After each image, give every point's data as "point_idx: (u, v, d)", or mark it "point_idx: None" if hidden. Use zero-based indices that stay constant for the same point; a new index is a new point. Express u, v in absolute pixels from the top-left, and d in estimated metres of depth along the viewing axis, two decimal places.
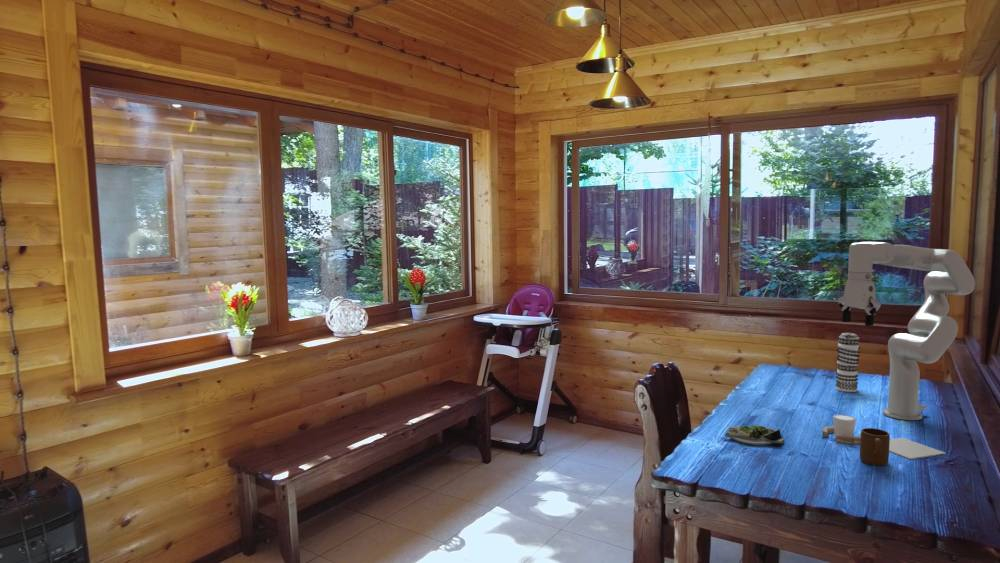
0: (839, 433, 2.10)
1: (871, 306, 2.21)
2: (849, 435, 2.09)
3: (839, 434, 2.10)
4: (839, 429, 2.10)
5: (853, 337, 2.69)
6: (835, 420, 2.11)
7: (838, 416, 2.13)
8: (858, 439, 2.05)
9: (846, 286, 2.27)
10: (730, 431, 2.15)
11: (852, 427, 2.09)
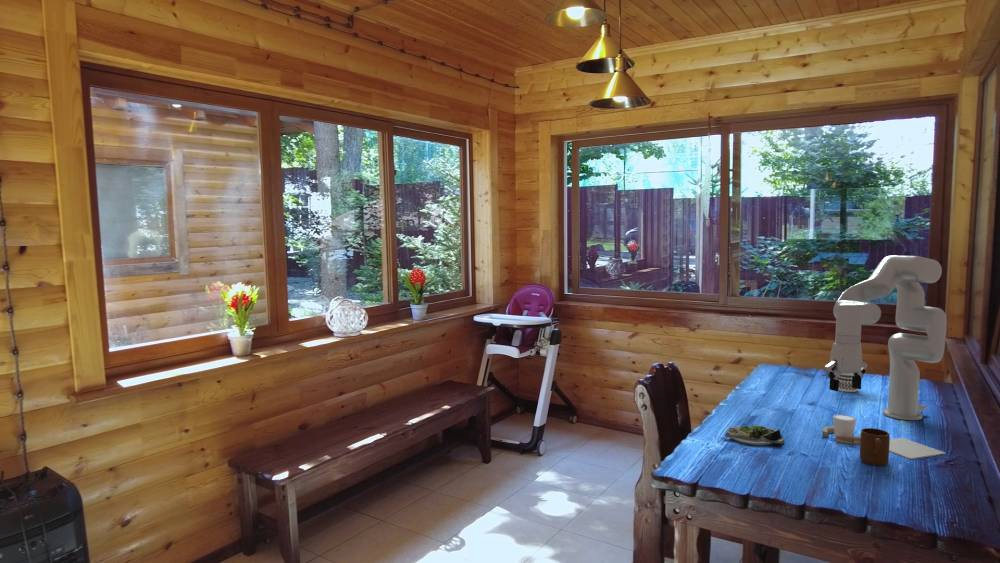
0: (839, 433, 2.10)
1: None
2: (849, 435, 2.09)
3: (839, 434, 2.10)
4: (839, 429, 2.10)
5: None
6: (835, 420, 2.11)
7: (838, 416, 2.13)
8: (858, 439, 2.05)
9: (844, 352, 2.06)
10: (730, 431, 2.15)
11: (852, 427, 2.09)
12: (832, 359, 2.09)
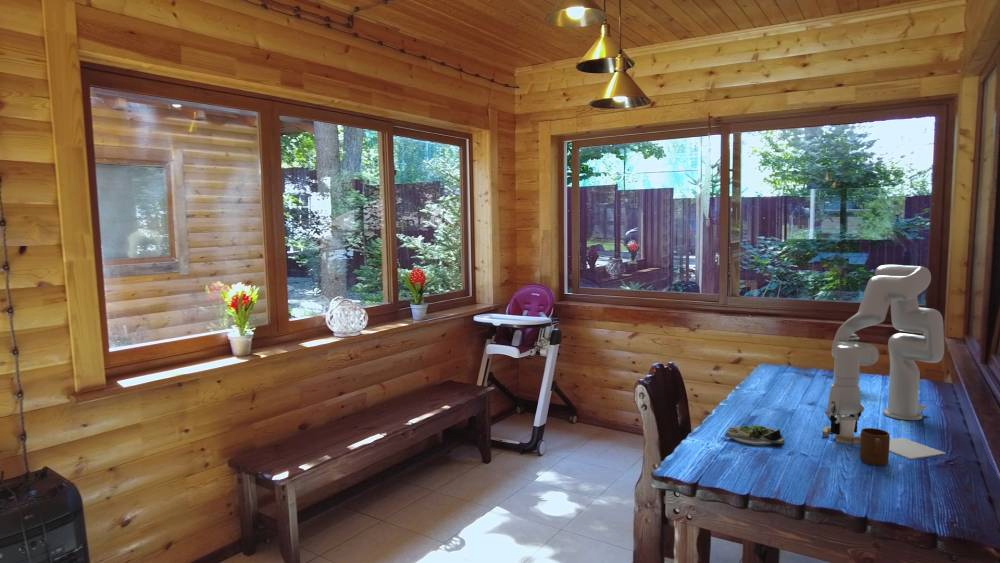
0: None
1: None
2: (849, 435, 2.09)
3: (839, 434, 2.10)
4: None
5: (853, 337, 2.69)
6: None
7: None
8: (858, 439, 2.05)
9: (842, 394, 2.07)
10: (730, 431, 2.15)
11: (852, 427, 2.09)
12: (831, 401, 2.10)
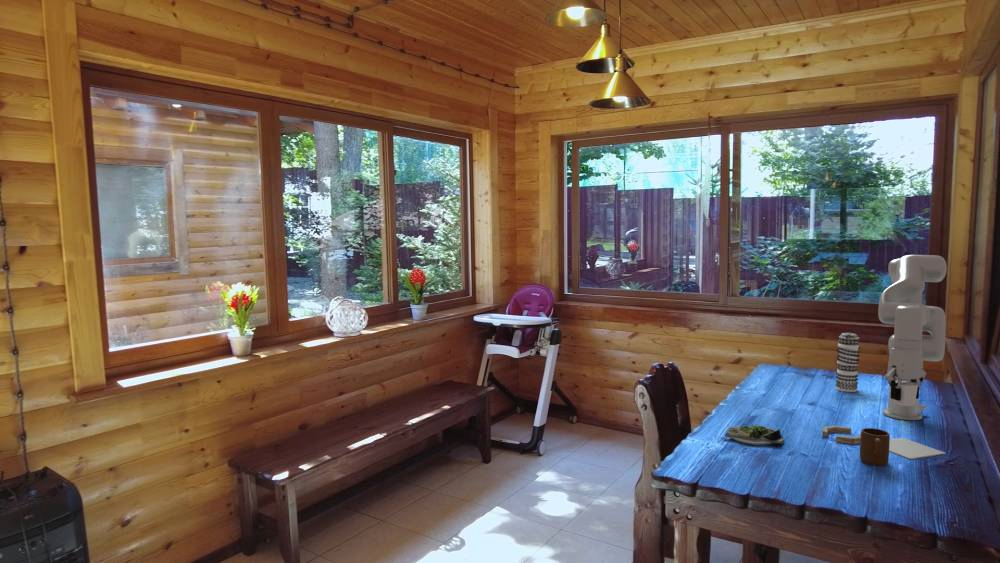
0: None
1: None
2: (911, 401, 1.97)
3: (900, 400, 1.98)
4: None
5: (853, 337, 2.69)
6: None
7: None
8: (858, 439, 2.05)
9: (904, 357, 1.96)
10: (730, 431, 2.15)
11: (914, 392, 1.97)
12: (891, 365, 1.99)
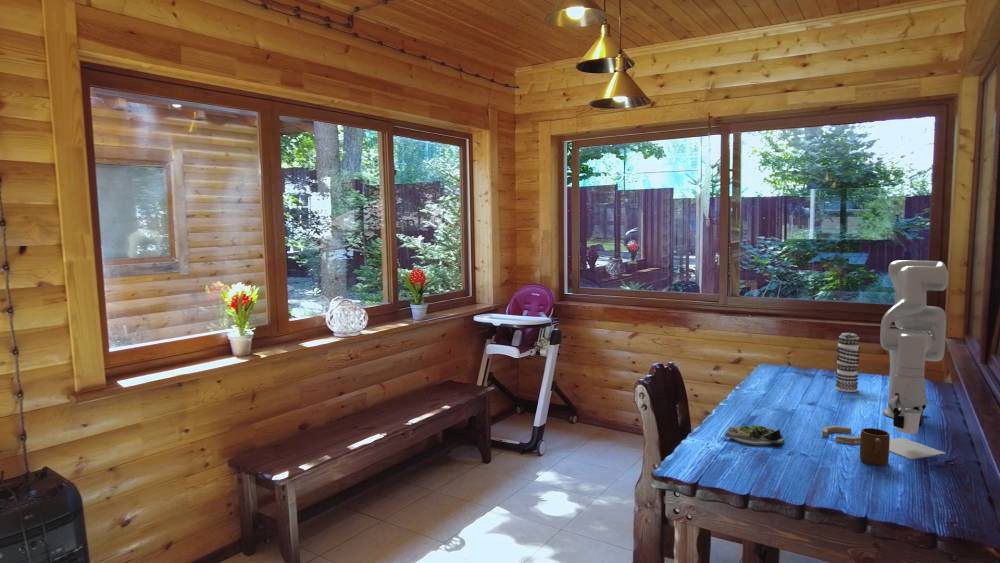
0: None
1: None
2: (914, 429, 1.97)
3: (903, 428, 1.98)
4: None
5: (853, 337, 2.69)
6: None
7: None
8: (858, 439, 2.05)
9: (907, 385, 1.96)
10: (730, 431, 2.15)
11: (917, 420, 1.97)
12: (894, 392, 1.98)
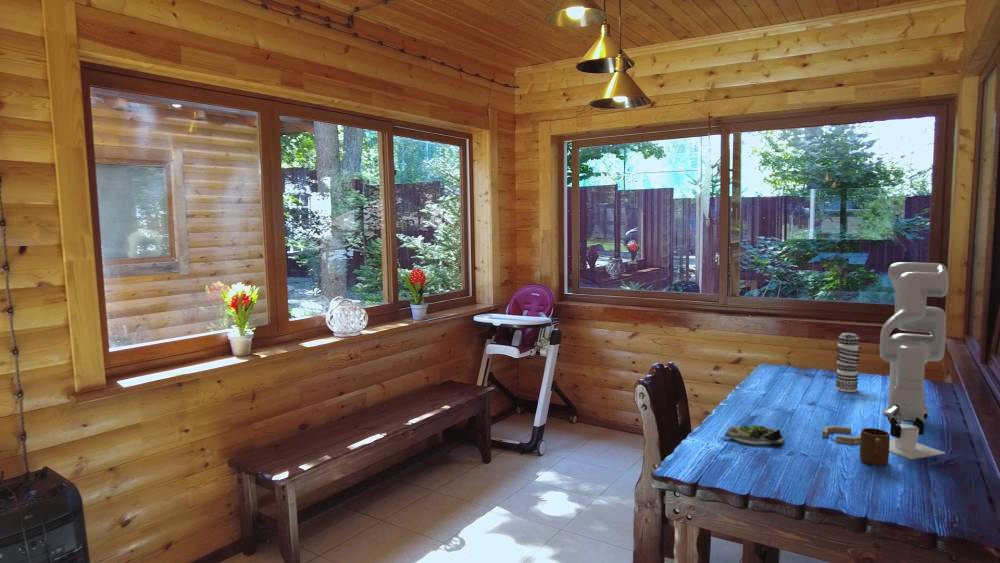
0: (901, 443, 1.99)
1: None
2: (912, 445, 1.98)
3: (901, 444, 1.99)
4: (901, 439, 1.99)
5: (853, 337, 2.69)
6: None
7: (899, 425, 2.01)
8: (858, 439, 2.05)
9: (906, 397, 1.96)
10: (730, 431, 2.15)
11: (915, 437, 1.97)
12: (893, 404, 1.99)
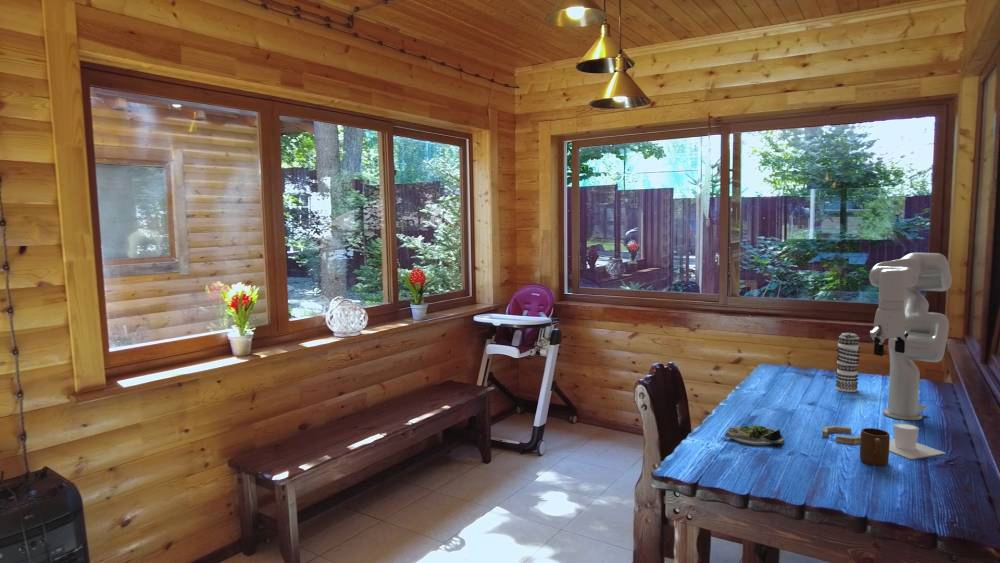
0: (901, 443, 1.99)
1: None
2: (912, 445, 1.98)
3: (901, 444, 1.99)
4: (901, 439, 1.99)
5: (853, 337, 2.69)
6: (897, 429, 2.00)
7: (899, 425, 2.01)
8: (858, 439, 2.05)
9: (888, 317, 2.10)
10: (730, 431, 2.15)
11: (915, 437, 1.97)
12: (876, 325, 2.13)
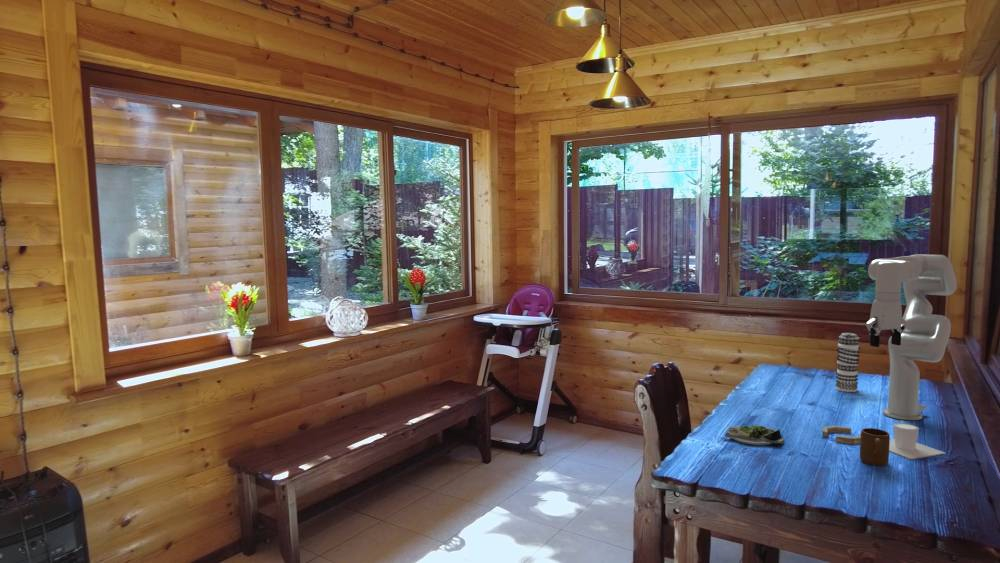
0: (901, 443, 1.99)
1: None
2: (912, 445, 1.98)
3: (901, 444, 1.99)
4: (901, 439, 1.99)
5: (853, 337, 2.69)
6: (897, 429, 2.00)
7: (899, 425, 2.01)
8: (858, 439, 2.05)
9: (884, 308, 2.12)
10: (730, 431, 2.15)
11: (915, 437, 1.97)
12: (872, 316, 2.15)
